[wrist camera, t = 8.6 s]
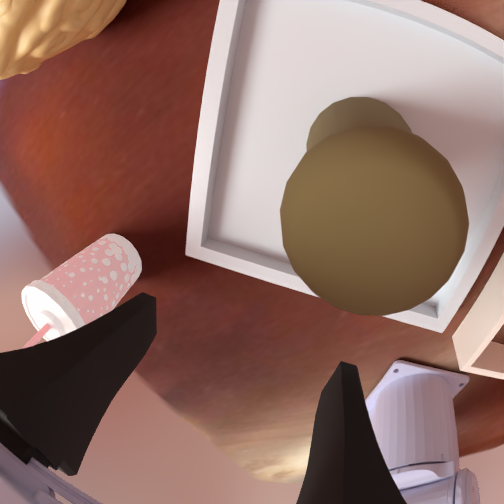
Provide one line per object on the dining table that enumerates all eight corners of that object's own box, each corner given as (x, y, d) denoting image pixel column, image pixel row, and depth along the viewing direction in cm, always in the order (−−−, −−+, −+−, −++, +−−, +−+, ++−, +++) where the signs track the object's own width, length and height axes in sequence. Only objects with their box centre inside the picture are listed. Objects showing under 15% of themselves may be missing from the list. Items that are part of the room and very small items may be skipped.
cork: (356, 73, 14) (377, 50, 5) (437, 154, 15) (536, 257, 6) (283, 153, 17) (201, 249, 8) (362, 225, 18) (364, 378, 9)
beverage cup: (125, 215, 23) (-14, 330, 12) (162, 281, 26) (56, 414, 14) (82, 236, 26) (-33, 333, 14) (115, 292, 28) (20, 400, 17)
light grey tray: (437, 314, 20) (442, 332, 18) (197, 240, 23) (185, 254, 21) (534, 71, 10) (551, 72, 9) (240, -27, 13) (228, -37, 11)
